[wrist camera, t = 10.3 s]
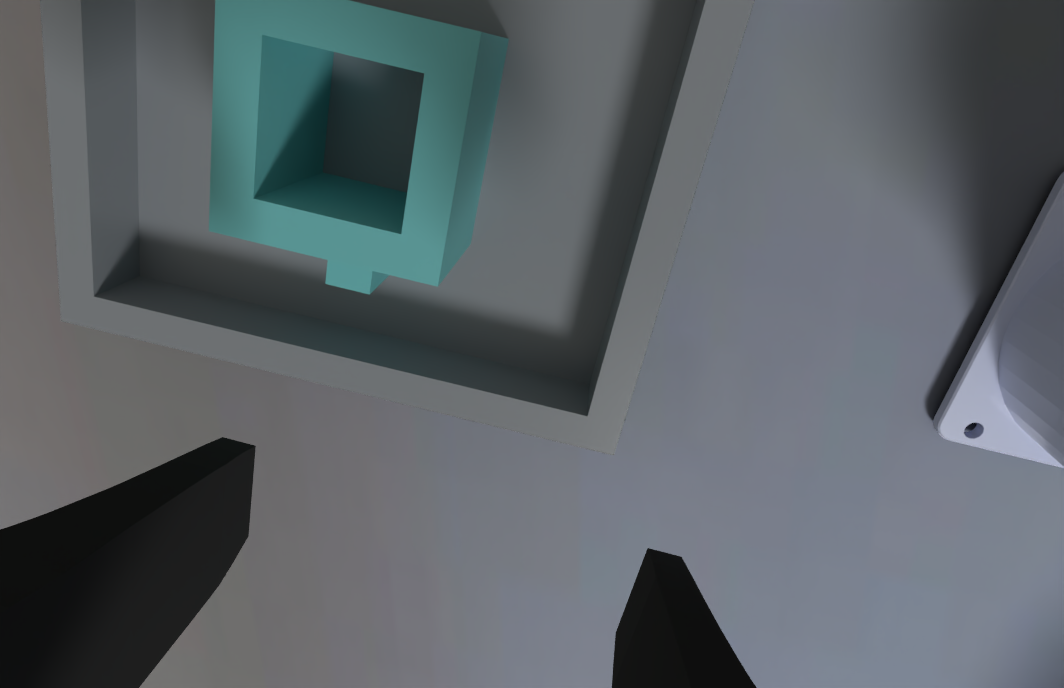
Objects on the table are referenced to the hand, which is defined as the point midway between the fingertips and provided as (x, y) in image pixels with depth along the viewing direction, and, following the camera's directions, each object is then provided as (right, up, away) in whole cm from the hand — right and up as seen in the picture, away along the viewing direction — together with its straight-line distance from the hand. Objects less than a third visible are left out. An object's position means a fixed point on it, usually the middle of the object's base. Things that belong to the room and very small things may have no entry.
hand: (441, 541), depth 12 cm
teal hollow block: (-2, +9, +6) cm, 11 cm away
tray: (-2, +9, +7) cm, 12 cm away
